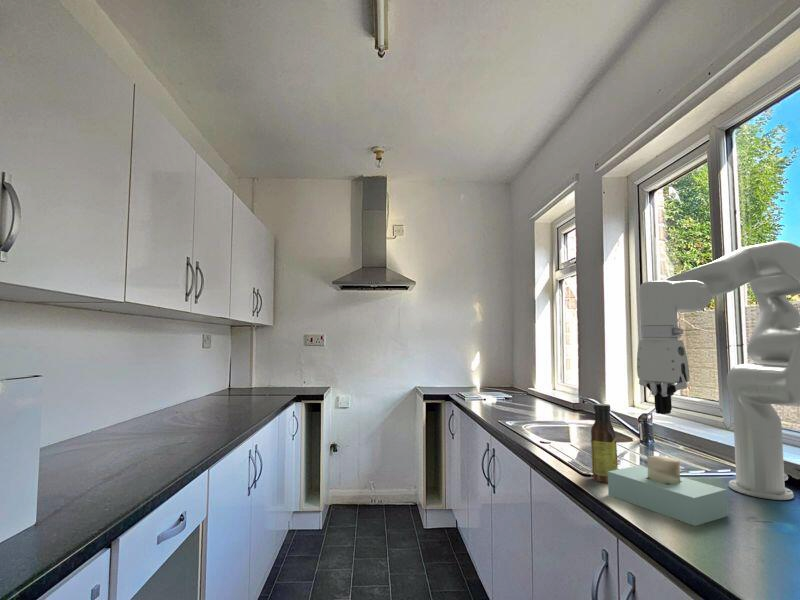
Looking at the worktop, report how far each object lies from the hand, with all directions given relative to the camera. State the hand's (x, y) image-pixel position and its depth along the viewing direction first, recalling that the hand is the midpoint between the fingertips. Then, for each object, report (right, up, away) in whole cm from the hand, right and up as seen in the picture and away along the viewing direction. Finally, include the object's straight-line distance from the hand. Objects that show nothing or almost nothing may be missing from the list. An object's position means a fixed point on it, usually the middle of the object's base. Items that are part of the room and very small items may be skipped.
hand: (663, 413), depth 104 cm
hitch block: (-1, -20, -2) cm, 20 cm away
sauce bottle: (-7, -22, +15) cm, 28 cm away
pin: (-1, -20, -2) cm, 20 cm away
